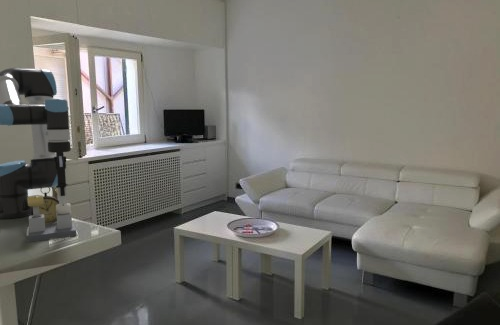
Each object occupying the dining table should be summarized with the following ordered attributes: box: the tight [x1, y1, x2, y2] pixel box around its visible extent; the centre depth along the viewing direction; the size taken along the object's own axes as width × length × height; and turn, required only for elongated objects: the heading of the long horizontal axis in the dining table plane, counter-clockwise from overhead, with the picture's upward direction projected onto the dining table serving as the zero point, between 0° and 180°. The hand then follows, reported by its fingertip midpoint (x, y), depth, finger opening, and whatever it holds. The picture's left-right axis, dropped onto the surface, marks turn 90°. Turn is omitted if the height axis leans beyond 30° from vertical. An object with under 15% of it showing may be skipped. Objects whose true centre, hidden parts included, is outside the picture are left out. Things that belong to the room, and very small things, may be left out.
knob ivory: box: [56, 202, 72, 215], centre depth 149 cm, size 5×5×8 cm
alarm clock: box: [30, 186, 59, 224], centre depth 157 cm, size 11×5×16 cm, turn 119°
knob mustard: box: [27, 194, 44, 218], centre depth 144 cm, size 5×5×8 cm
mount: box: [25, 211, 77, 243], centre depth 147 cm, size 14×16×7 cm
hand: (63, 203), depth 148 cm, fingers closed
